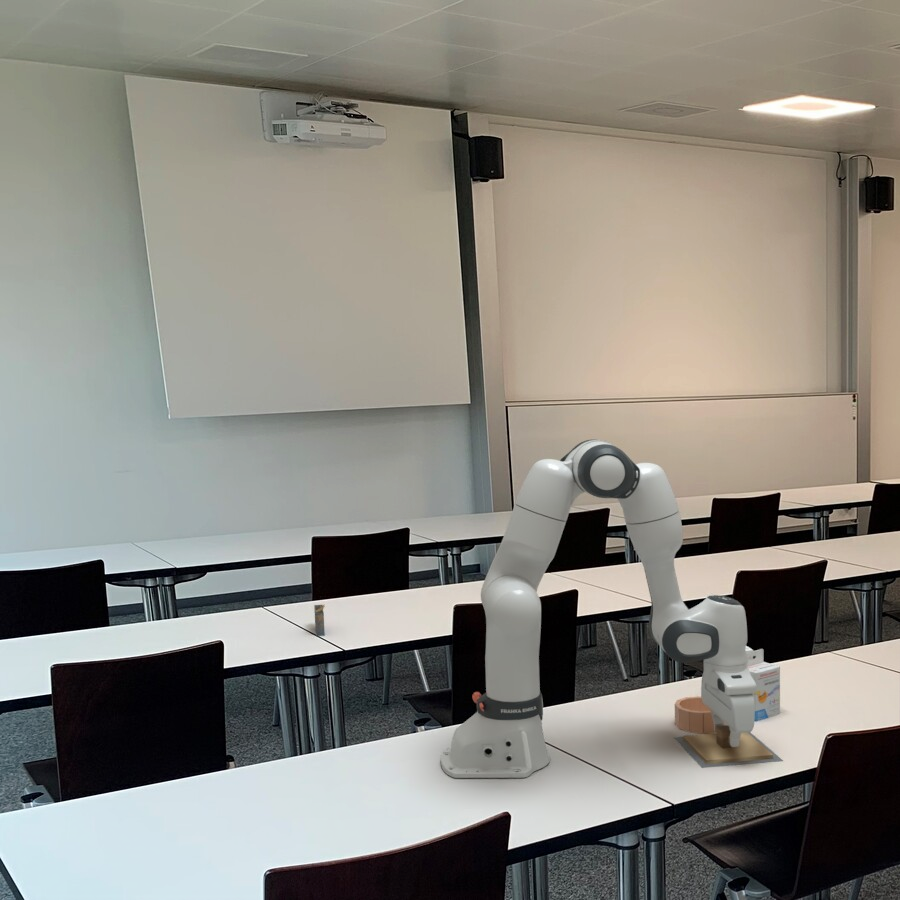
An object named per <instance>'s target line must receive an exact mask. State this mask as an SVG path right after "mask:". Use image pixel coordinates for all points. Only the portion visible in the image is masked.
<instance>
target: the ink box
mask: <svg viewBox="0 0 900 900" xmlns="http://www.w3.org/2000/svg"><path fill="white" fill-rule="evenodd" d="M764 652H765V651H764V649H763V648H759V649H757V650H753V651H752V652H748V653H746V655H747V658H748V657H750V656H751V655H752V656H753V659H751V660H748V669H749V672H750V674H751V676H752V678H753V680H754V681H755V683H756V687H757V690H756V693H752V694H753V696H754V700H755V719H754V723H755V722H759V721H762V720H766V719H769V718H772V717H775V716H779V715H781V666H779V665H778V664H777V665H776V664H773V663H769V662H766V661H764Z"/></svg>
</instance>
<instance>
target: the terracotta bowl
mask: <svg viewBox="0 0 900 900" xmlns="http://www.w3.org/2000/svg"><path fill="white" fill-rule="evenodd" d="M723 724H724V725H727V724H726V723H725V722H723ZM674 725H675V726H676V727H677V728H678V729H679V730H682V731H685V732H688V733H694V734H712V733H716V732H715V731H714V722H713V719H712V715H711V710H710V709H709V708H708V707H707V706H705V705H704V704H703V702H702V699H701V695H700V696H698V695H696V696H685V697H682V698H679V699H677V700H676V701H675V703H674Z"/></svg>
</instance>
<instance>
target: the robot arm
mask: <svg viewBox="0 0 900 900" xmlns="http://www.w3.org/2000/svg"><path fill="white" fill-rule="evenodd" d="M584 493H587V494H588V495H591V496H593V497H596V498H599V499H617V501H618V502H619V504H620V507H621V508H622V513H623V517H624V522H625V526H626V529H627V533H628V535H629V538H630V541H631V544H632V546H633V548H634V549H635V552H636V554H637V556H638V558H639V560H640V562H641V564H642V566H643V570H644V573H645V579H646V583H647V587H648V592H649V597H650V601H651V608H650V613H649V620H648V631H649V633H650V636H651V638H652V640H653V641H654V642H655V644H657V645H658V646H659V647H660V648H661V649H662V651H664V653H665V654H666V655H667V656H668V657H669V658H670V659H671V660H673V661H675V662H677V663H681V664H688V663H695V662H699V661H703V673H702V676H701V687H700V690H701V691H700V697H701V699H702V702H703V704H704V705H705V706H707V707H708V708H709V709H710V710H711V715H712V719H713V722H714V731H715V732H716V726H725V725H724V724H723V722H725V723H726V724H727V725H728V726H729V728H730V731H731V732H730V736H728V743H729V745H730V746H731V747H738V746H739V738H740V736H741V733H747V732H751V733H752V732H753V730H754V727H755V721H754V719H755V700H754V696H753V694H752V693H756V690H757V687H756V683H755V681H754V680H753V678H752V676H751V674H750V672H749V669H748V660H747V655H746V651H745V648H746V646H747V643H748V625H747V624H748V623H747V616H746V610H745V607H744V606H743V604H741V602H739V601H738V600H736V599H734V598H732V597H729V596H724V595H719V594H718V595H717V594H714V595H708V596H706V598H704V600H703V601H701V602H700V603H699V604H697V605H695V606H693V607H691V608H689V607H688V606H687V605H686V603H685V602H684V601H683V598H682V596H681V592H680V587H679V583H678V577H677V574H676V569H675V557H676V554H677V552H678V551H679V550H680V549H681V547H682V545H683V542H684V535H683V525H682V519H681V518H682V517H681V513H680V510H679V507H678V503H677V499H676V495H675V494H674V493H675V492H674V490H673V488H672V485H671V483H670V481H669V478H668V475H666V473H665V470H664V469H663V468H662V467H661V465H658V464H656V463H652V462H639V463H635V462H634V461H633V460H632V459H631V458H630V457H629V456H628V455H627V454H626V453H625V452H624V451H623V450H622V449H620V448H619V447H618V446H616V445H615V444H613V443H611V442H610V441H606V440H602V439H591V438H590V439H586V440H584V441H581V442H580V443H578V444H577V445H575V446H574V447H573V448H572V449H571V450H569V452H567V453H566V454H565V455H564V456H562V458H561V459H560V460H559V459H555V458H544V459H540V460H538V461H536V462H535V463H534V464H533V465H532V466H531V468H530V469H529V472H528V474H527V475H526V477H525V479H524V480H523V483H522V485H521V487H520V490H519V492H518V494H517V497H516V500H515V502H514V505H513V509H512V511H511V515H510V517H509V520H508V524H507V526H506V529H505V532H504V535H503V537H502V539H501V542H500V545H499V547H498V549H497V551H496V552H495V556H494V558H493V560H492V562H491V564H490V567H489V569H488V572H487V573H486V576H485V578H484V580H483V584H482V587H481V590H480V601H481V604H482V606H483V609H484V614H485V624H486V625H485V626H486V628H485V629H486V630H485V631H486V632H485V655H484V661H485V664H484V667H485V688H486V689H485V691H486V692H484V693H483V694H481V692H480V691H475V692H473V694H472V697H471V698H472V700H473V702H474V703H475V704H476V711H475V713H474V714H473V715H471V717H469V718H468V719H466V721H463V723H462V724H460V725H458V727H456V728H455V729H454V733H453V735H452V738H451V744H450V748H448V749H446V750H443V751H442V753H441V755H440V766H441V768H442V771H444V773H445V774H446V775H448V776H450V777H452V778H455V779H486V778H487V779H499V778H502V779H505V778H506V779H511V778H513V779H515V778H517V779H519V778H520V779H525V778H528V777H529V776H531V775H532V774H533V773H534V772H537V771H538V770H541V769H543V768H545V767H547V765H548V764H549V762H550V760H551V759H550V756H549V752H548V749H547V745H546V739H545V736H544V731H543V722H542V721H543V715H544V702H543V694H542V692H541V690H540V688H541V687H540V685H541V684H540V659H539V658H540V657H539V656H540V645H541V629H542V626H541V625H542V601H541V599H540V596H539V594H538V593H537V591H538V588H539V587H540V583H541V581H542V579H543V577H544V576H545V573H546V571H547V569H548V568H549V565H550V563H551V562H552V561H553V559H554V558H555V556H556V553H557V550H558V547H559V544H560V541H561V538H562V535H563V531H564V529H565V526H566V523H567V521H568V517H569V514H570V511H571V507H572V506H573V504H574V503H575V501H576V499H577V498H578V497H579V496H580V495H582V494H584Z"/></svg>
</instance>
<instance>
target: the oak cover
mask: <svg viewBox="0 0 900 900" xmlns="http://www.w3.org/2000/svg"><path fill="white" fill-rule="evenodd" d="M730 732H731V731H730V728H729V726H728V725H725V726H716V733H705V734H704V733H703V734H702V733H698V734H691V735H690V734H689V735H682V737H683V740H684V741H685V742H686V743H687V744H688V745H689V746H690V747H691V749H692V750H693V751H694V752H695V753H696V754H697V755H698V756H699V757H700V758H701V759H702V760H703V761H704V762H705V763H706V764H715V763H727V762H739V761H751V760H764V759H773V754H772V753H771V752H769V751H768V750H767V749H766V748H765V747H764V746H762V745H761V744H760V743H759V742H758V741H757V740H755V739H754V738H753V737H752V736H751V735H750V734H749V733H741V736H740V738H739V746H738V747H731V746H730V745H729V743H728V736H730Z"/></svg>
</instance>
